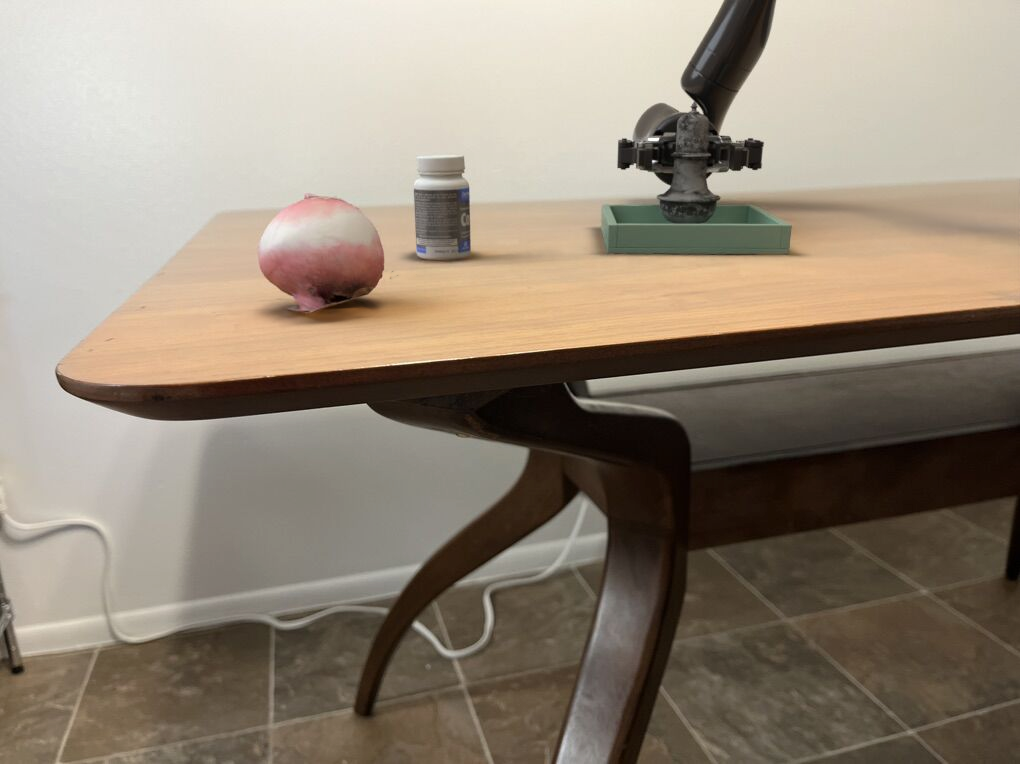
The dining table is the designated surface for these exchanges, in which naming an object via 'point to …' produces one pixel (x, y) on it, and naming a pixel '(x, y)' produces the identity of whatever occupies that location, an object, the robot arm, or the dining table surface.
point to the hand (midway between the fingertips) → (693, 158)
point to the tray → (694, 231)
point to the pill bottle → (442, 208)
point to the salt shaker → (689, 174)
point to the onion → (321, 252)
